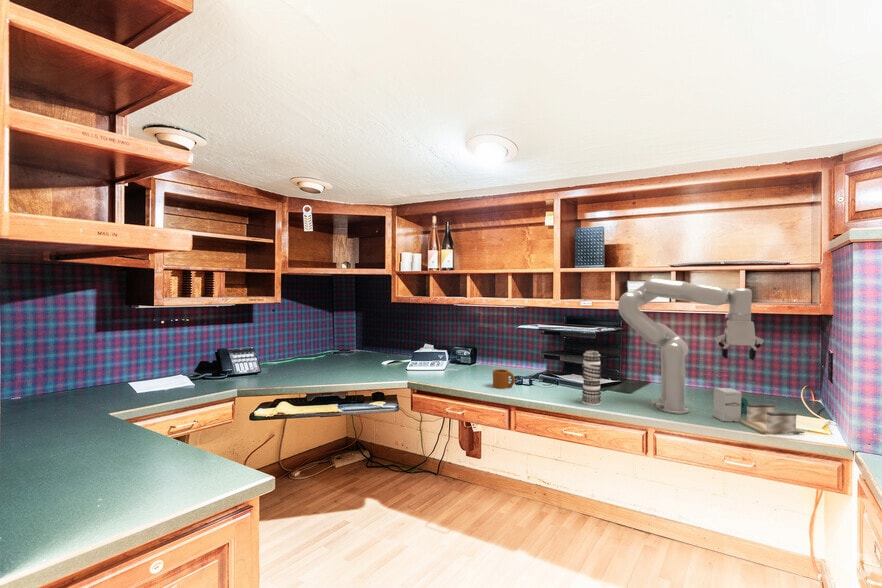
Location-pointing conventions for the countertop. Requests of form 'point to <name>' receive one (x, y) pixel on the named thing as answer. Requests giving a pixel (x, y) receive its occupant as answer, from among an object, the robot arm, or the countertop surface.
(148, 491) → the countertop surface
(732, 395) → the supplement box
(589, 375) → the decorative candle
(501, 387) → the mug
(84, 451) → the countertop surface
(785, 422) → the clip holder
